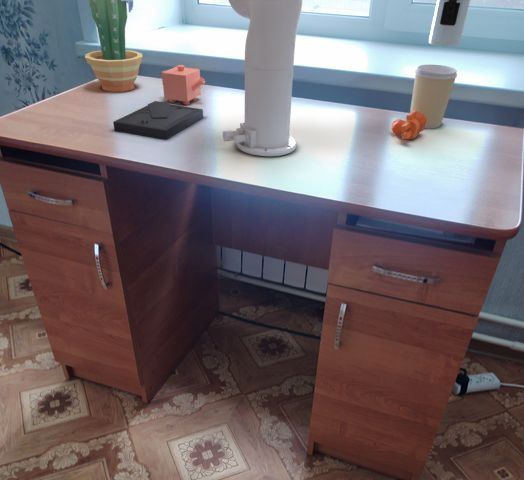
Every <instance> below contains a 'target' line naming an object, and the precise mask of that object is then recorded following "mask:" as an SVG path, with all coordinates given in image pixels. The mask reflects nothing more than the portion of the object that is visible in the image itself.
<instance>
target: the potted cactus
mask: <svg viewBox="0 0 524 480" xmlns="http://www.w3.org/2000/svg"><path fill="white" fill-rule="evenodd" d="M88 2H89V8H90V12H91V17H92V19H93V21H94V23H95V25H96V28H97V33H98V40H99V45H100V50H93V51H90V52H87V53H85V54H84V58H85V61H86V63H87V65H89V66H90V67H91V70H92V72H93V73H94V76H95V77H96V79H97V80H98V81H99V82H100V84H101V85H102V86H101V87H102V88H101V89H102V90H103V91H106V92H113V93H116V92H117V93H118V92H119V93H120V92H128V91H132V90H134V89H135V88H136V87H135V82H136V80H137V77H138V76H139V72H140V65H141V64H142V63H143V53H142V52H139V51H136V50H131V49H129V50H128V49H126V25H127V21H128V13H131V12H132V11H133V8H134V0H88ZM127 4H128V5H127ZM127 6H128V7H127Z"/></svg>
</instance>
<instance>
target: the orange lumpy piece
mask: <svg viewBox="0 0 524 480" xmlns="http://www.w3.org/2000/svg"><path fill="white" fill-rule="evenodd" d="M426 122H427V118H426V116H425V115H424V114H423V113H422V112H417V110H415V111H412V112H410V111H409V113H408V114H407V115H406V121H405V120H404V119H401V118H399V119H395V120H393V122H392V123H391V127H390V128H391V131H392V133H393V134H394V135H396V136H401V138H402V140H414V139H415V138H416V137H418V136H419V134H420V133H421V132H423V131H424V130H425V129H426V128H425V125H426Z"/></svg>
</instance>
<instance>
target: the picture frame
mask: <svg viewBox="0 0 524 480" xmlns="http://www.w3.org/2000/svg"><path fill="white" fill-rule="evenodd" d="M202 119H204V109H203V108H197V107H191V106H183V105H177V104H172V103H171V102H166V101H160V100H159V101H158V100H154V101H152V102H149V103H147V105H145V106H143V107H141V108H139V109H137V110H135V111H133V112H131V113H128V114H127V115H126V114H125V116H122V117H120V118H118V119H115V120H114V121H113V122H112V123H113V129H114V131H116V132H122V133H127V134H131V135H139V136H144V137H151V138H154V139H155V138H157V139H163V140H168V139H170V138H172V137H174V136H175V135H176V134H178V133H180V132H181V131H184V130H185V129H187V128H189V127H190V126H192V125H194V124H195V123H197V122H199V121H200V120H202Z"/></svg>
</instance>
